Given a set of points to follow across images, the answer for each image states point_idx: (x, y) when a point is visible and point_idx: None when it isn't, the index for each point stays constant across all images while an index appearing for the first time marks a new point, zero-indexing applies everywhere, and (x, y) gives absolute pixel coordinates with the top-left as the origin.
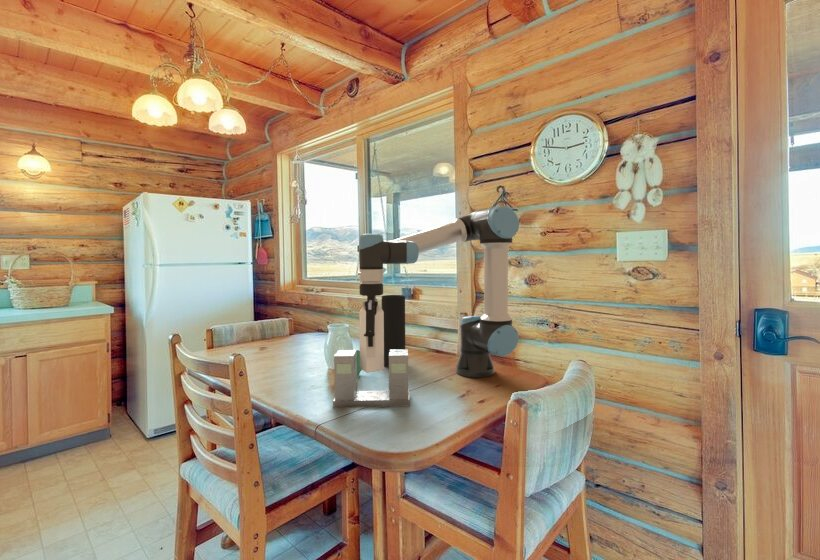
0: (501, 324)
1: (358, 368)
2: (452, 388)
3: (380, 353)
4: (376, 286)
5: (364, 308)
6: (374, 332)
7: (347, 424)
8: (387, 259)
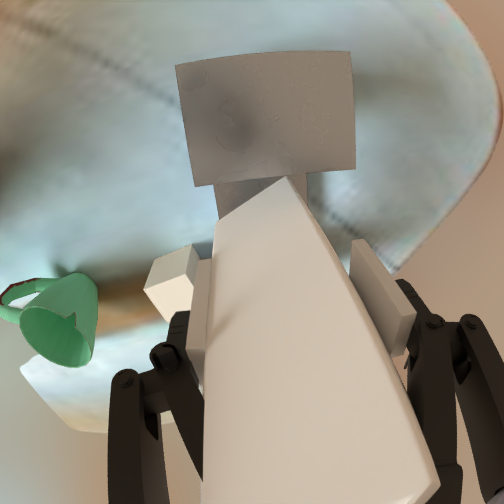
0: None
1: (75, 288)
2: None
3: (316, 223)
4: None
5: None
6: (427, 334)
7: (404, 215)
8: None
